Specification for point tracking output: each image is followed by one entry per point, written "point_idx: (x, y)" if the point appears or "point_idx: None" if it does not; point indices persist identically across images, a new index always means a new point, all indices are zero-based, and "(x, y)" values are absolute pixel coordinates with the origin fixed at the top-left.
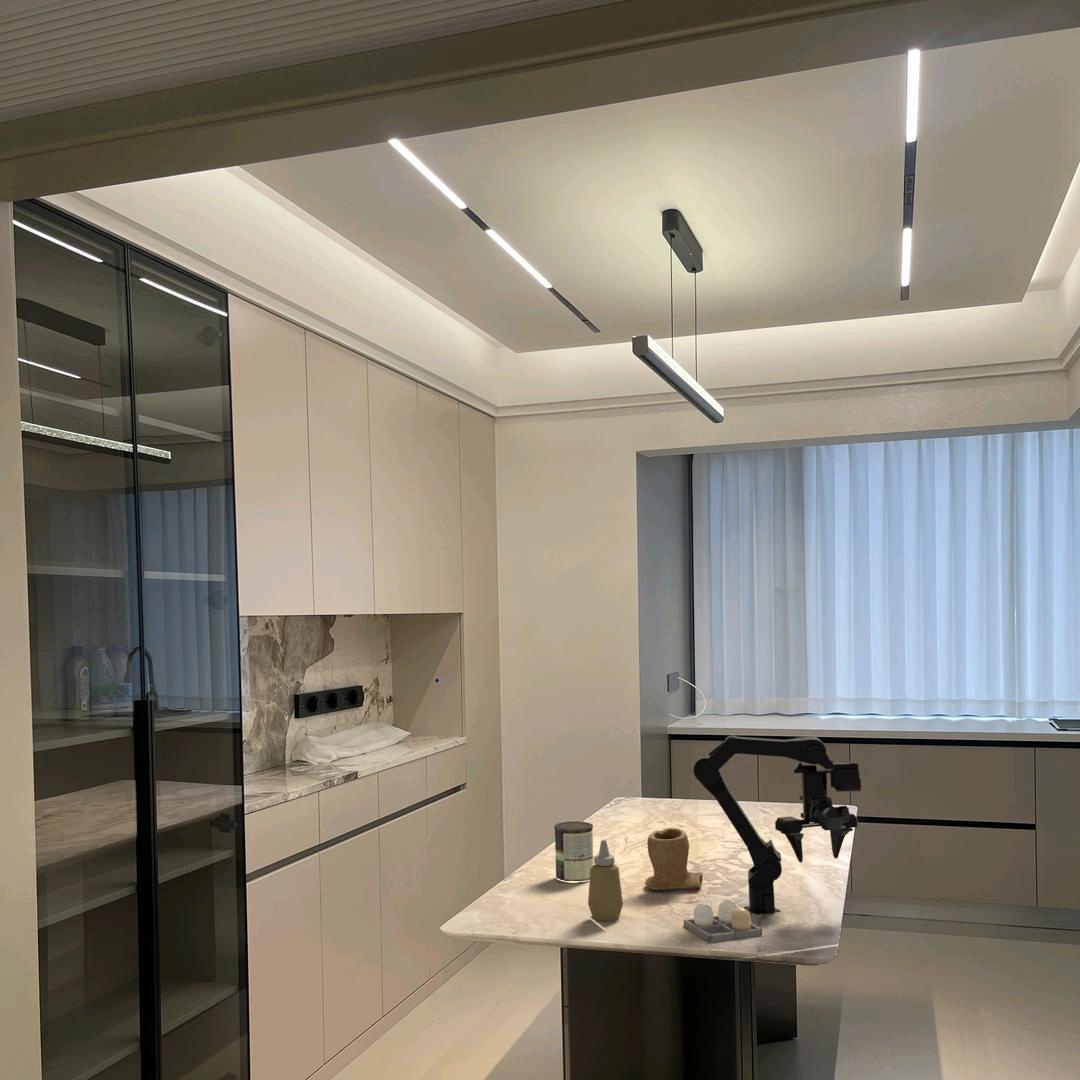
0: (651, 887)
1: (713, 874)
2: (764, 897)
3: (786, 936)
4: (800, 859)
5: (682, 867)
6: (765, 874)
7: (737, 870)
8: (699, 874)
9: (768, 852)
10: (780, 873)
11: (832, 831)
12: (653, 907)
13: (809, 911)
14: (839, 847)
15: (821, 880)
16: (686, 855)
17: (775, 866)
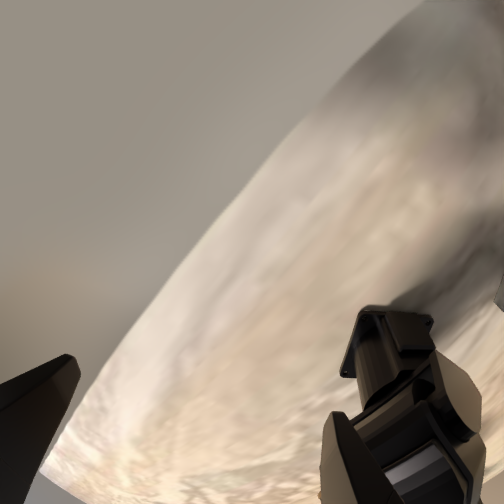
0: None
1: (267, 496)
2: (433, 342)
3: (489, 121)
4: (352, 425)
5: None
6: (464, 395)
7: (219, 492)
8: None
9: (473, 477)
10: (413, 393)
11: (9, 489)
12: (487, 417)
13: (264, 288)
14: (16, 384)
15: (109, 417)
16: None
17: (457, 412)
